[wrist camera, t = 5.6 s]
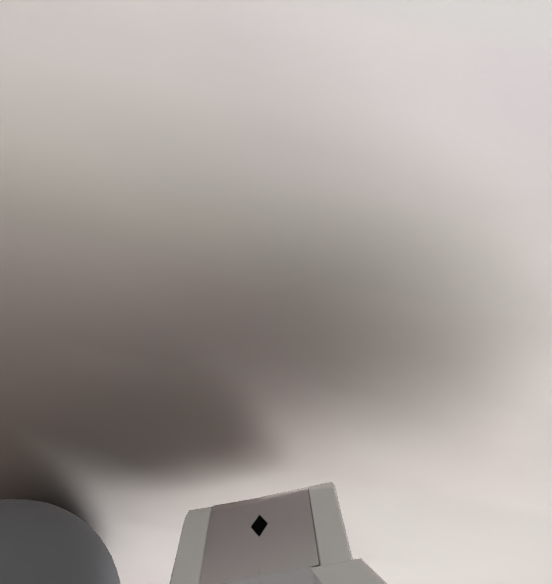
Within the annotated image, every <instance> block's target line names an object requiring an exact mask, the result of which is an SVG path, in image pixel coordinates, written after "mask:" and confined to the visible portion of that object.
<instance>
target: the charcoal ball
mask: <svg viewBox="0 0 552 584" xmlns="http://www.w3.org/2000/svg"><path fill="white" fill-rule="evenodd" d="M0 584H120V580H119V576H118V573H117V570H116V567H115V564H114V562H113V559H112V556H111V555H110V553H109V551H108V549H107V548H106V546H105V544H104V543H103V541H102V540H101V538H100V537H99V536H98V534H97V533H96V532H95V531H94V530H93V529H92V528H91V527H90V526H89V525H88V524H87V523H86V522H84V521H83V520H82V519H80V518H79V517H78V516H76V515H75V514H73V513H71V512H69V511H67V510H65V509H63V508H61V507H58V506H56V505H53V504H49V503H46V502H41V501H35V500H27V499H0Z"/></svg>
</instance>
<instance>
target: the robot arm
mask: <svg viewBox="0 0 552 584" xmlns="http://www.w3.org/2000/svg"><path fill="white" fill-rule="evenodd" d="M170 584H387V583H386V582H385V581H384V580H383V579H382V578H381V577H380V576H379V575H377V574H376V573H375V572H374V571H373V570H372V569H371V568H370V567H369V566H368V565H367V564H366V563H365V562H364V561H363V560H362V559H361V558H360V559H352V555H351V551H350V547H349V542H348V538H347V534H346V530H345V526H344V522H343V518H342V514H341V510H340V506H339V502H338V497H337V493H336V489H335V485H334V484H333V482H329V483H324V484H320V485H315V486H310V487H309V488H308V487H306V488H301V489H297V490H292V491H287V492H283V493H278V494H273V495H268V496H264V497H261V498H255V499H249V500H244V501H238V502H232V503H226V504H220V505H215V506H213V507H207V508H201V509H195V510H189V512H188V514H187V515H186V517H185V520H184V524H183V528H182V533H181V537H180V541H179V545H178V550H177V554H176V558H175V563H174V567H173V571H172V575H171V580H170Z"/></svg>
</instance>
